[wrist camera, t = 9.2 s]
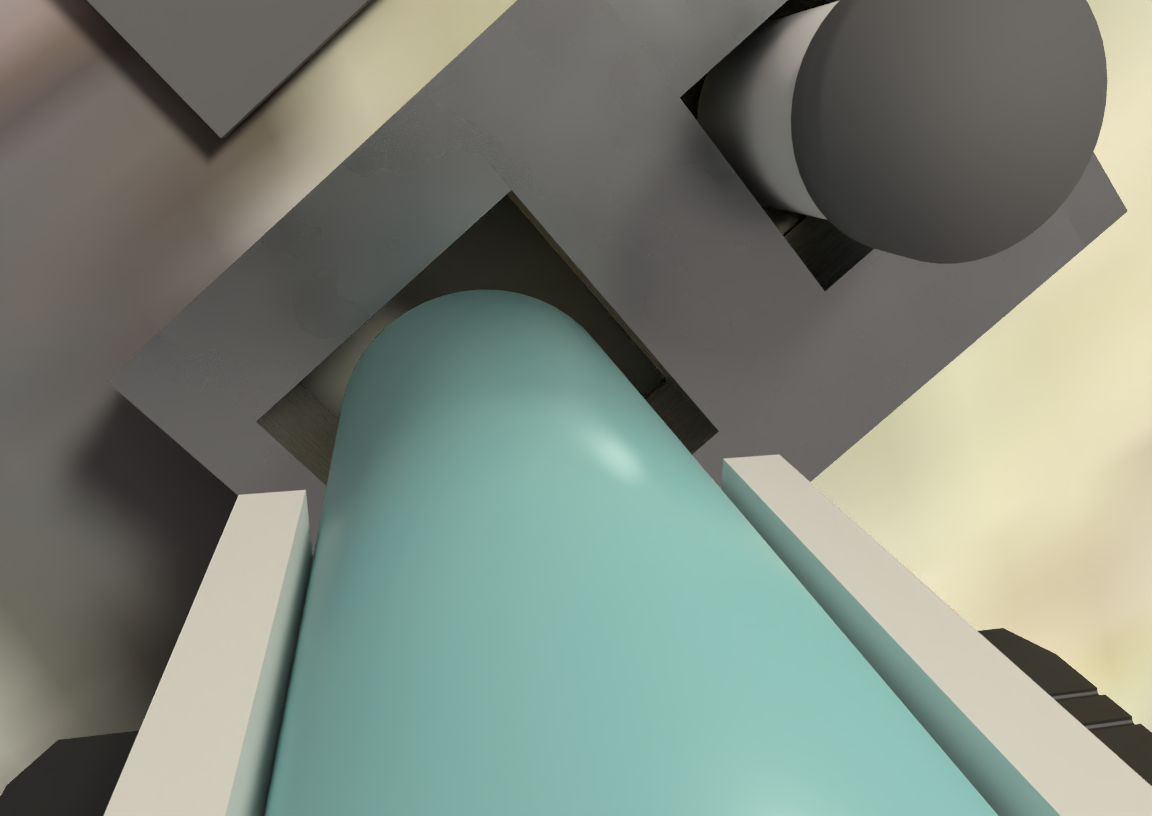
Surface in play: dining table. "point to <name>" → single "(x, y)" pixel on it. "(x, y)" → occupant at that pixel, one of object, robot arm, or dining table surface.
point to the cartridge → (563, 608)
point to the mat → (227, 46)
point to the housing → (587, 256)
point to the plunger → (915, 118)
